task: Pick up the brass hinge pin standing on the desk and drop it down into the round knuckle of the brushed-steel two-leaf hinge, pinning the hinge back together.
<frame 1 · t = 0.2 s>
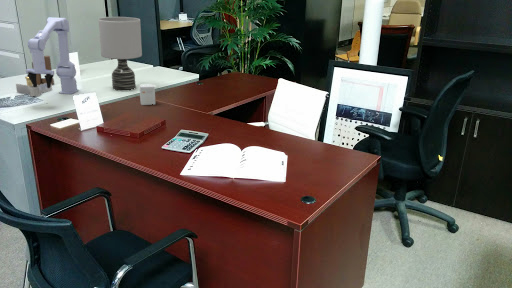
hand: (42, 87, 238), 10 cm above the table, tool pointing down, fingers open, 7 cm apart
lamp: (123, 88, 281), on the table
small box: (147, 103, 253), on the table
hinge pin: (30, 89, 269), on the table
steel hinge: (35, 95, 258), on the table
brown wooden frame: (44, 84, 281), on the table
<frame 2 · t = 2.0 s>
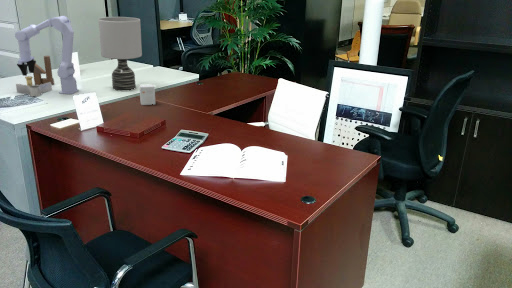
hand: (28, 74, 265), 9 cm above the table, tool pointing down, fingers open, 7 cm apart
nothing on the table moved.
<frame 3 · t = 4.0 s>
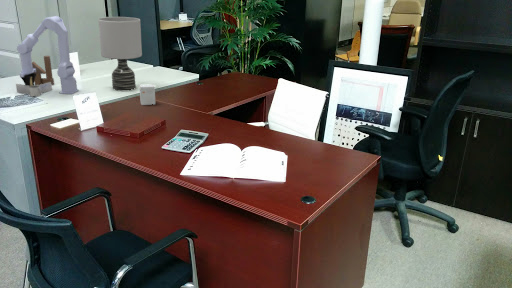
hand: (30, 86, 268), 2 cm above the table, tool pointing down, fingers closed on hinge pin, 4 cm apart
hinge pin: (30, 89, 269), on the table, touching gripper
everything else where it was.
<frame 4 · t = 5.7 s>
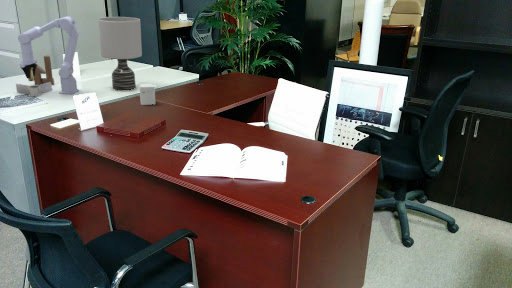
hand: (30, 77, 261), 9 cm above the table, tool pointing down, fingers closed on hinge pin, 4 cm apart
hinge pin: (31, 80, 261), point 7 cm above the table, touching gripper
everything else where it was.
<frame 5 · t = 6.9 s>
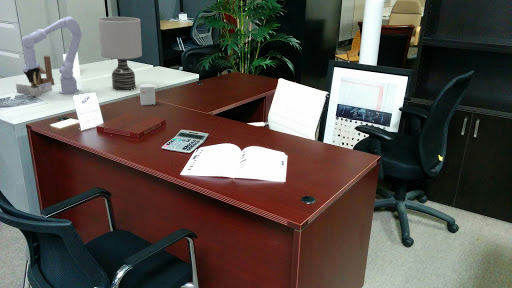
hand: (33, 81, 255), 8 cm above the table, tool pointing down, fingers closed on hinge pin, 4 cm apart
hinge pin: (34, 85, 256), point 6 cm above the table, touching gripper
everything else where it was.
when the fingers open (8 cm above the table, at t = 7.7 s): hinge pin drops 6 cm, resting in steel hinge.
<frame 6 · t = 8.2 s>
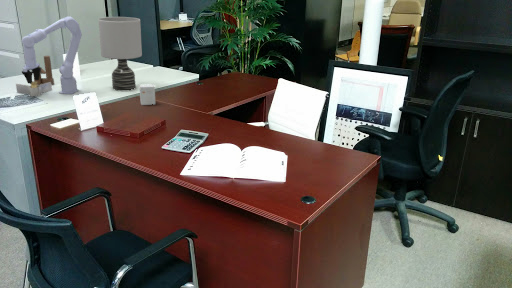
hand: (33, 81, 255), 8 cm above the table, tool pointing down, fingers open, 7 cm apart
hinge pin: (35, 94, 258), resting in steel hinge
everything else where it was.
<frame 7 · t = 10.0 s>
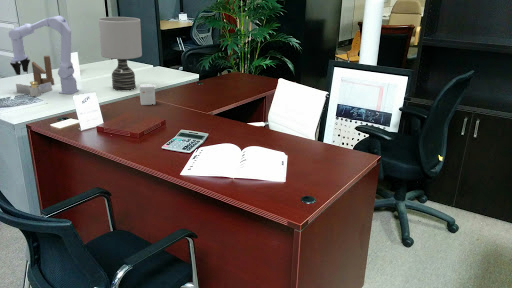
hand: (21, 73, 262), 10 cm above the table, tool pointing down, fingers open, 7 cm apart
nothing on the table moved.
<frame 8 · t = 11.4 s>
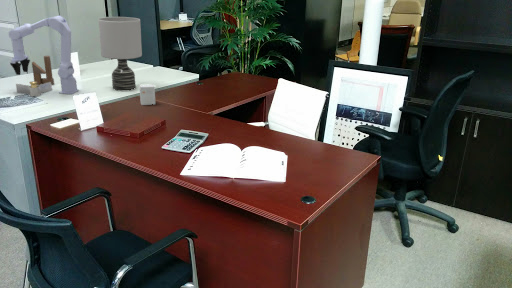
hand: (21, 73, 262), 10 cm above the table, tool pointing down, fingers open, 7 cm apart
nothing on the table moved.
at the end: hinge pin 0.2 cm off-centre on the steel hinge, point 0.0 cm above the steel hinge's base; hinge pin tilted 2°; the gripper is holding nothing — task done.
